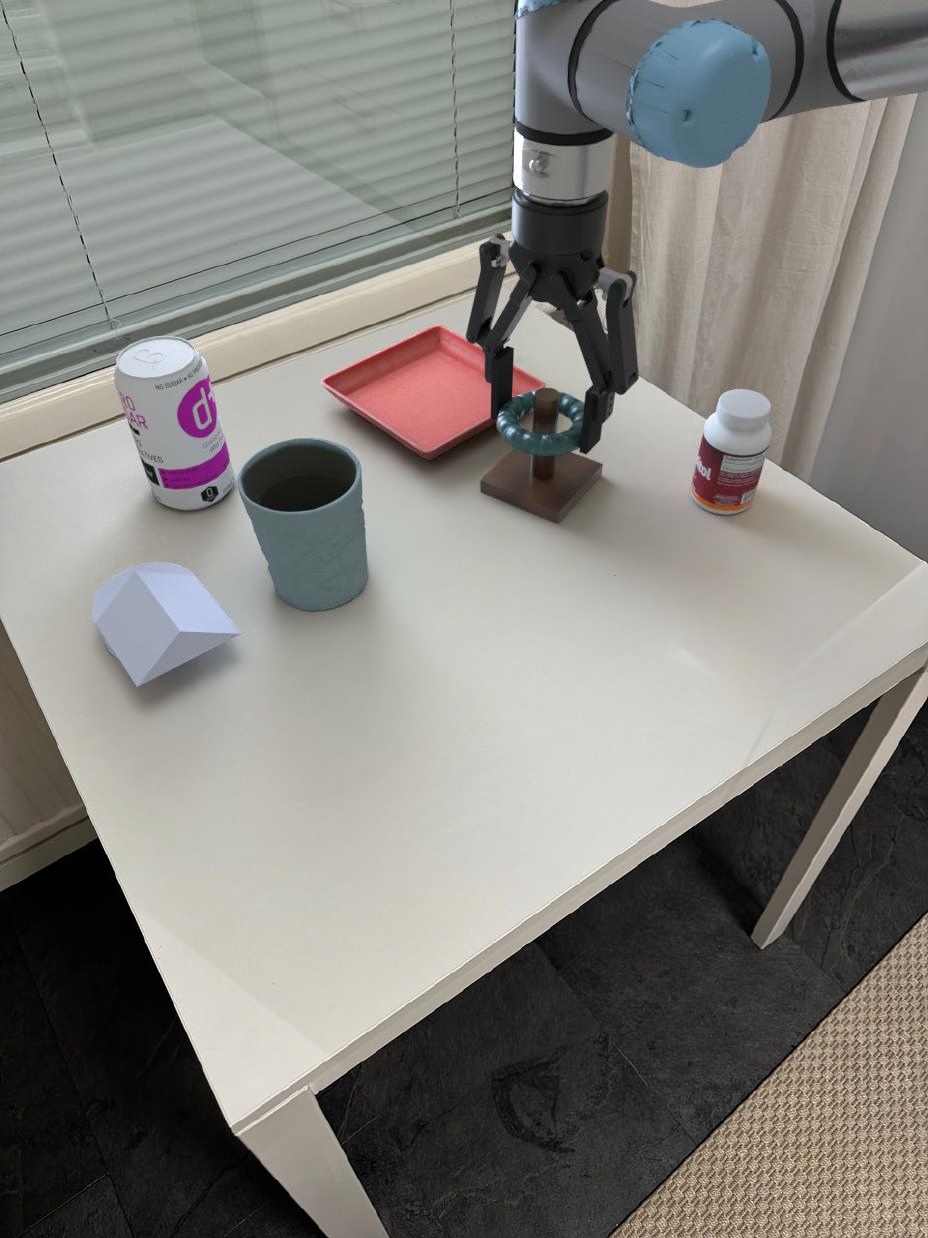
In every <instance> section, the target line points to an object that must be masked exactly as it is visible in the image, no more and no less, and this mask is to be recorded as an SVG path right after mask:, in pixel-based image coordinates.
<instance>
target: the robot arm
mask: <svg viewBox="0 0 928 1238" xmlns="http://www.w3.org/2000/svg"><path fill="white" fill-rule="evenodd" d="M514 18H515V19H514V20H515V21H516V27H515V28H516V30H515V32H516V33H515V35H516V36H515V37H516V38H515V39H516V41H515V93H514V95H515V96H514V97H515V98H514V100H515V101H514V104H515V105H514V117H515V119H514V120H515V121H514V136H513V137H514V138H513V139H514V141H513V142H514V143H513V145H514V146H513V179H512V180H513V183H514V184H515V188H514V189H513V191H512V195H511V197H512V200H511V235H512V240H507V239H506V237H505V236H504V234H502V233H500V232H499V233H496V234H495V235H493V236H492V237H490V238H488V239H487V240H485V241H484V242H483V243H481V244H480V245H479V247H478V253H479V266H480V271H479V276H478V278H477V284H476V289H475V292H474V297H473V302H472V306H471V307H472V308H471V310H470V314H469V320H468V324H467V328H466V333H465V338H466V339H467V341H468V342H469V343H471V344H474V343H475V344H477V345H478V346H480V347H482V350H483V352H484V354H485V379H486V382H488V383H491V418H492V419H495V420H497V418H498V413H499V410H500V408H501V407H502V406H503V405H504V404H505V403H506V402H508V401H509V400H510V399H511V398H512V389H513V365H514V361H515V360H514V355H515V348H514V347H512V346H509V345H506V346H505V344H507V343H508V342H509V341H510V340H511V338H510V337H511V336H512V334H513V333H514V331H515V330H516V328H517V326H518V324H519V323H520V321H521V319H522V317H523V316H524V314H525V313H526V311H527V310H528V308H529V306H530V304H531V303H532V301H534V302H536V303H546V304H549V305H551V306H552V307H554V308H557V309H559V310H562V312H563V315H564V317H565V320H566V322H567V323H569V324H571V327H572V330H573V332H574V335H575V338H576V340H577V343H578V346H579V347H578V348H579V349H580V353H581V355H582V358H583V361H584V362H585V367H586V369H587V372H588V375H589V378H590V380H591V383H592V385H591V386H590V387H588V389H587V390H585V393H584V395H585V396H584V401H583V402H584V412H583V422H582V431H581V441H580V448H579V453H580V454H584V455H585V456H586V455H588V454H589V453H590V452H591V450H593V448H595V447H596V445H598V443H599V442H600V441H601V438H602V429H603V424H605V422H607V420H609V418H610V417H611V416H612V414H613V412H614V406H615V404H614V403H615V398H616V394H617V395H619V396H623V395H625V394H626V393H627V392H628V391H629V390H630V389H631V388H632V386H634V385H635V384H636V383H637V382H638V381H639V378H640V374H639V363H638V354H637V353H638V351H637V341H636V328H635V319H634V317H635V316H634V305H633V296H634V292H635V289H636V284H637V280H638V277H637V274H636V272H635V271H633V270H630V269H629V270H626V271H625V272H623V273H621V272H617V271H616V270H613V269H611V268H609V267H606V263H605V260H604V256H603V245H604V240H605V236H606V226H607V216H608V210H609V209H608V208H609V192H608V191H607V190H606V189H607V188H609V187H610V185H611V182H612V174H613V173H612V172H613V161H614V151H615V149H614V148H615V137H616V136H615V135H618V136H620V137H622V138H624V139H626V140H628V141H630V142H632V143H633V144H635V145H637V146H639V147H641V148H643V149H645V151H646V152H647V153H651V154H652V155H653V156H655V157H657V158H661V157H662V159H664V160H666V161H669V162H676V163H679V164H682V165H685V166H688V167H691V168H695V169H707V168H708V169H709V168H714V167H716V166H719V165H721V164H723V163H725V162H727V161H728V160H729V159H730V158H731V157H732V155H733V153H735V151H736V150H738V149H739V148H742V147H744V146H745V145H746V144H747V143H748V141H749V140H750V139H751V138H752V136H753V135H754V133H755V132H756V130H757V128H758V127H759V125H761V124H764V123H768V122H771V121H772V120H776V119H780V118H785V117H789V116H793V115H798V114H801V113H806V112H810V111H814V110H821V109H827V108H834V107H841V106H847V105H853V104H854V105H855V104H861V103H866V102H867V101H874V100H880V99H887V98H893V97H894V98H895V97H903V96H908V95H914V94H923V93H928V0H716V1H711V2H706V3H701V4H697V5H692V6H683V7H682V6H681V7H680V6H678V7H677V6H670V5H667V4H663V3H660V2H656V1H653V0H518V4H517V10H516V12H515V14H514ZM510 262H511V265H512V266H513V268H514V270H515V272H516V274H517V276H518V281H517V282H516V284H515V286H514V287H513V289H512V291H511V292H510V295H509V297H508V298H509V299H508V301H507V303H506V304H505V306H504V308H503V309H502V311H501V313H500V314H499V316H498V318H497V319H496V321H495V323H494V325H493V321H494V318H495V314H496V310H497V306H498V303H499V299H500V294H501V291H502V287H503V283H504V278H505V274H506V270H507V266H508V264H509V263H510ZM596 284H598V285H600V287H601V289H602V295H601V299H602V300H603V301H604V302H605V311H604V312H605V313H604V314H605V322H606V323H605V324H606V331H607V332H605V328H604V326H603V323H602V320H601V316H600V314H599V311H598V307H599V306H598V305H599V299H598V297H597V294H596V291H595V288H594V286H596ZM579 302H580V303H579ZM606 333H607V334H606Z"/></svg>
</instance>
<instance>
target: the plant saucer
mask: <svg viewBox="0 0 928 1238" xmlns="http://www.w3.org/2000/svg"><path fill="white" fill-rule="evenodd" d="M320 384H321V385H322V387H323V388H324V389H325V390H327V392H329V393H330V395H332V396H333V397H334V398H335V399H336V400H338V401H339V402H340V403H342V404H343V405H344V406H346V407H348V409H351V410H352V411H353V412H355V413H356V414H358V415H359V416H361V417H362V418H363V419H365V420H366V421H368V422H369V423H371V424H373V425H374V426H375V427H377V428H379V429H380V430H381V431H383V432H384V433H385V434H388V435H389V436H390V437H392V438H393V439H395V440H396V441H398V442H399V443H400V444H402V445H404V446H405V447H406V448H408V449H409V450H411V451H412V452H414V453H416V454H417V455H418V456H419V457H421V458H422V459H425V460H433V459H435V458H437V457H438V456H440V455H442V454H444V453H446V452H447V451H449V450H450V449H452V448H454V447H456V446H458V445H460V444H461V443H463V442H465V441H467V440H469V439H470V438H472V437H474V436H475V435H477V434H478V433H481V432H482V431H484V430H486V429H487V428H489V427H491V426H492V425H494V424H495V425H496V422H497V420H495V419H492V418H491V383H488V382H486V379H485V354H484V352H483V350H482V347H481V346H479V345H478V344H477V343H474V344H471V343H469V342H468V341H467V339H466V337H464V336H462V335H460V334H459V333H457V332H455V331H453V330H451V329H450V328H448V327H446V326H444V325H441V324H435V325H432V326H430V327H428V328H426V329H424V330H421V331H419V332H417V333H415V334H413V335H411V336H409V337H406V338H405V339H403V340H401V341H399V342H396V343H394V344H392V345H390V346H388V347H386V348H383V349H381V350H379V351H377V352H375V353H373V354H371V355H368V356H367V357H365V358H362V359H361V360H358V361H356V362H354V363H352V364H349V365H347V366H346V367H344V368H341V369H339V370H336V371H335V372H332V373H331V374H329V375H327V376H324V377H323V378H321V380H320ZM540 388H546V382H544V381H543V380H541V379H540V378H537V377H536V376H534V375H532V374H530V373H529V372H527V371H525V370H523V369H522V368H520V367H518V366H516V365H514V364H513V389H512V397H514V396H517V395H520V394H523V393H526V392H529V391H537V390H538V389H540Z"/></svg>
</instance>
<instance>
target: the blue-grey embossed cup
mask: <svg viewBox="0 0 928 1238" xmlns="http://www.w3.org/2000/svg"><path fill="white" fill-rule="evenodd" d="M237 489H238V493H239V496H240V499H241V500H242V501H241V502H242V503H243V506H244V508H245V511H246V514H247V515H248V518H249V519H250V522H251V525H252V528H253V532H254V534H255V536H256V539H257V542H258V545H259V547H260V550H261V553H262V555H263V556H264V558H265V560H266V562H267V570H268V573H269V576H270V578H271V581H272V584H273V586H274V589H275V592H276V593H277V594H278V596H279V597H280V598H281V599H282V600H283V601H284V602H285V603H286V604H288V605H290V606H291V607H294V608H296V609H300V610H304V611H312V612H320V611H326V610H331V609H334V608H337V607H340V606H342V605H344V604H346V603H348V602H350V601H352V600H353V599H354V598H356V597H357V596H358V595H359V594H360V593H361V592H362V590H363V589H364V587H365V585H366V582H367V579H368V555H367V554H368V553H367V540H366V527H365V526H366V519H365V511H364V509H363V507H362V506H363V503H364V499H363V471H362V466H361V462H360V460H359V458H358V457H357V456H356V454H355V453H353V452H352V450H350V448H348V447H346V446H344V445H343V444H340V443H338V442H334V441H331V440H329V439H324V438H319V437H317V438H316V437H299V438H292V439H286V440H282V441H279V442H275V443H273V444H270V445H269V446H266V447H264V448H262V449H260V450H259V451H257V452H256V453H255V454H253V455H252V456H250V458H249V459H248V460H247V461H246V462H244V464H243V465H242V467H241V469H240V470H239V474H238V477H237Z"/></svg>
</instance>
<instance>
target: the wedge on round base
mask: <svg viewBox="0 0 928 1238" xmlns="http://www.w3.org/2000/svg"><path fill="white" fill-rule="evenodd" d="M90 608H91V610H90V611H91V616H92V620H93V622H94V624H95V626H96V628H97V630H98V633H99V635H100V637H101V639H102V641H103V643H104V645H105V647H106V649H107V651H108V652H109V653H110V654H111V655H112V656H113V658H116V659H117V660H119V661H120V663H121V665H122V666H123V668H124V670H125V671H126V672H127V674H128V676H129V677H130V678H131V680H132V682H133V683H134V685H135V687H136V688H139V687H140V686H142V685H144V684H146V683H148V682H150V681H152V680H154V679H156V678H158V677H159V676H162V675H163V674H165V673H168V672H169V671H171V670H173V669H175V668H177V667H179V666H181V665H183V664H185V663H187V662H189V661H191V660H193V659H195V658H197V657H198V656H201V655H203V654H205V653H206V652H209V651H211V650H212V649H215V648H216V647H219V646H220V645H222V644H225V643H226V642H228V641H230V640H232V639H234V638H236V637H238V636H240V635H242V632H241V631H240V630H239V629H238V627H237V626H236V625H235V624H234V622H233V621H232V620H231V618H230V617H229V616H228V615H227V613H226V612H225V611H224V609H223V608H222V607H221V606H220V605H219V603H218V602H217V601H216V600H215V598H214V597H213V596H212V594H210V592H209V591H208V589H207V588H206V587H205V586H204V584H202V582H201V581H200V580H199V579H198V577H197V575H195V574H194V573H193V572H192V571H191V570H189V569H188V568H186V567H185V566H183V565H180V564H176V563H173V562H166V561H154V562H145V563H141V564H136V565H133V566H129V567H128V568H126V569H123V570H121V571H119V572H118V573H116V574H113V576H112V577H110V578H109V579H107V580H106V581H105V582H104V583H103V584H102V585H101V586H100V587H99V588H98V590H97V592H96V593H95V595H94V597H93V599H92V602H91V607H90Z"/></svg>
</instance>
